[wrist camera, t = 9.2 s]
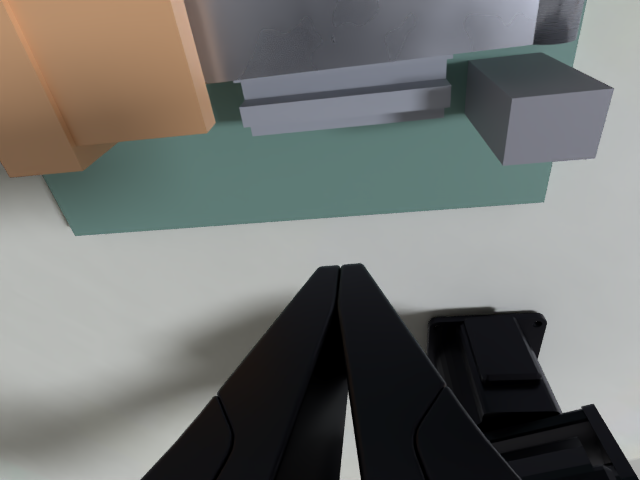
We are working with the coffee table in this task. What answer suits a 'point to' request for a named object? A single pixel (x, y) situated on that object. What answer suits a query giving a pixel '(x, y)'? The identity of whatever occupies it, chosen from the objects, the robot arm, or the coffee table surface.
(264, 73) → the strap
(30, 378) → the coffee table surface
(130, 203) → the board
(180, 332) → the coffee table surface
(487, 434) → the robot arm
